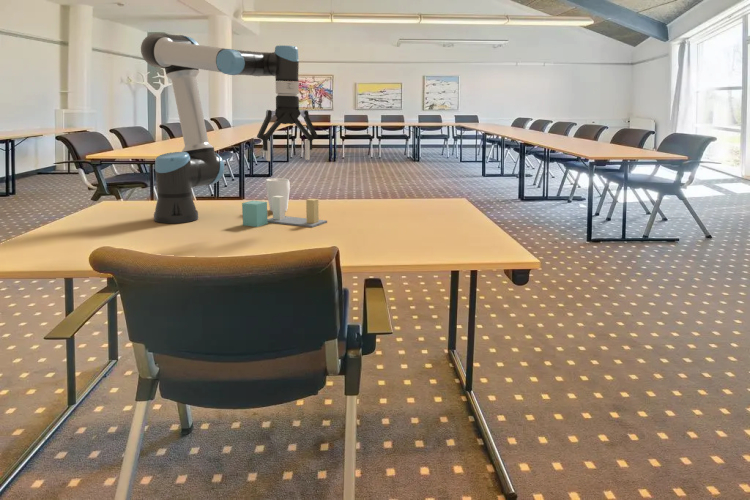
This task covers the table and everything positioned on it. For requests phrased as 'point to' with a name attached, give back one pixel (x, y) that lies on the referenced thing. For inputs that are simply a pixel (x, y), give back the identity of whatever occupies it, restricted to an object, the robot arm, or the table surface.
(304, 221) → the post board
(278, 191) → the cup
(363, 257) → the table surface
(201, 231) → the table surface
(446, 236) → the table surface
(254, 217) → the teal cube block
